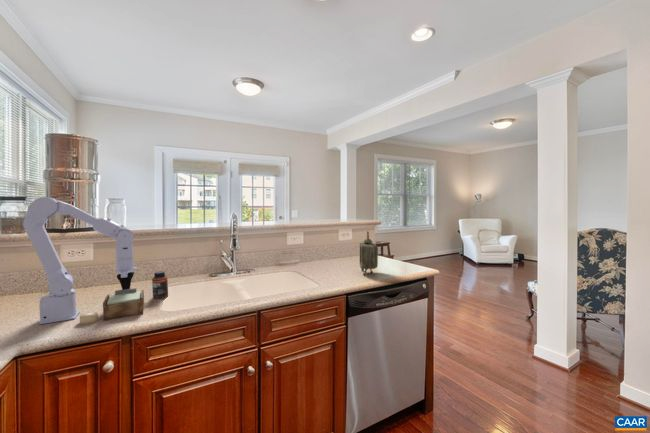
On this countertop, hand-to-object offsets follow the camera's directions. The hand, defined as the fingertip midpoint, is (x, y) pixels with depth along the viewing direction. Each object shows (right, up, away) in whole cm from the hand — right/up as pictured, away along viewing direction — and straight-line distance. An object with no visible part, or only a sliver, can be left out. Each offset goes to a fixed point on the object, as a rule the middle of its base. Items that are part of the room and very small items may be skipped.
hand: (126, 291), depth 117 cm
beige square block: (-3, -7, -15) cm, 17 cm away
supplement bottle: (+8, -6, +11) cm, 15 cm away
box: (+4, -6, -6) cm, 10 cm away
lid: (+3, -1, -5) cm, 6 cm away
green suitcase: (+106, -4, +53) cm, 118 cm away
